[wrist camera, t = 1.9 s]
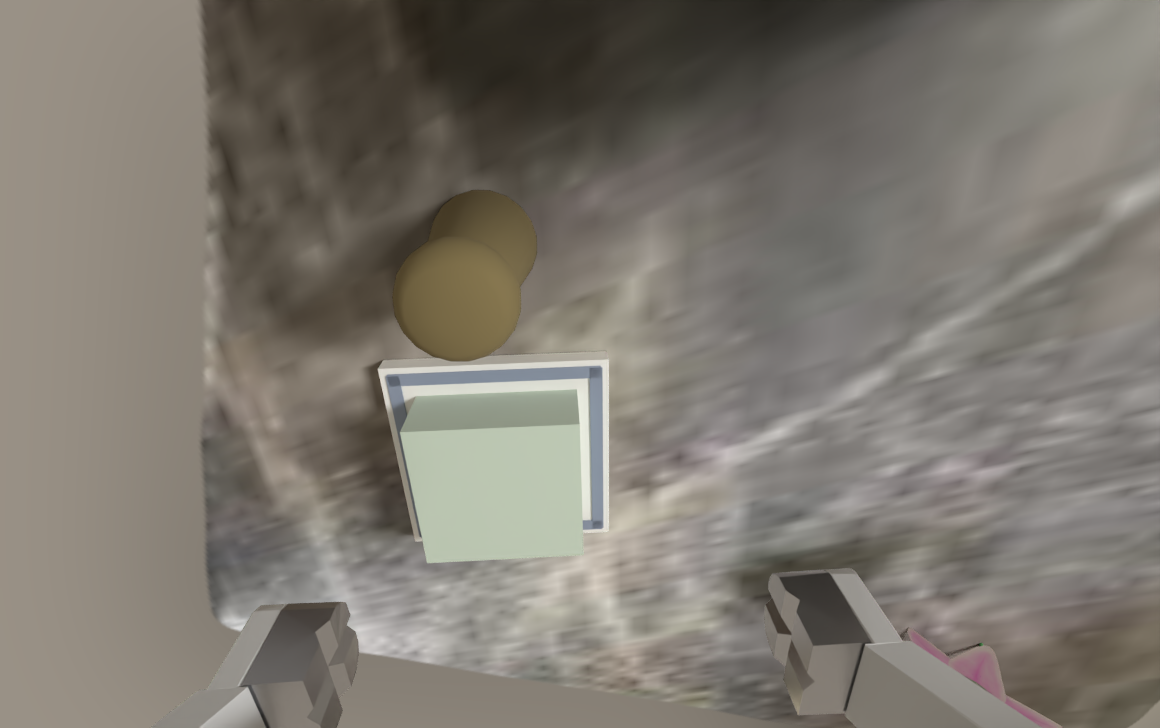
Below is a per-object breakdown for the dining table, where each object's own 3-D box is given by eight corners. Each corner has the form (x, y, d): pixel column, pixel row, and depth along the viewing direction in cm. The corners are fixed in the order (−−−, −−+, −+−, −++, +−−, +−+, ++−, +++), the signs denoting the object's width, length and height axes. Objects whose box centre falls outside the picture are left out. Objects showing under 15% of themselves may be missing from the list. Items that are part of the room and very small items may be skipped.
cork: (527, 181, 29) (513, 226, 19) (545, 287, 32) (541, 373, 22) (417, 198, 29) (348, 250, 19) (445, 301, 32) (396, 393, 22)
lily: (960, 571, 46) (971, 675, 39) (1088, 656, 45) (1123, 781, 37) (861, 619, 54) (855, 713, 47) (967, 693, 53) (977, 802, 45)
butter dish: (383, 360, 34) (355, 402, 29) (606, 351, 34) (615, 391, 29) (419, 529, 40) (401, 586, 35) (607, 520, 40) (614, 575, 36)
